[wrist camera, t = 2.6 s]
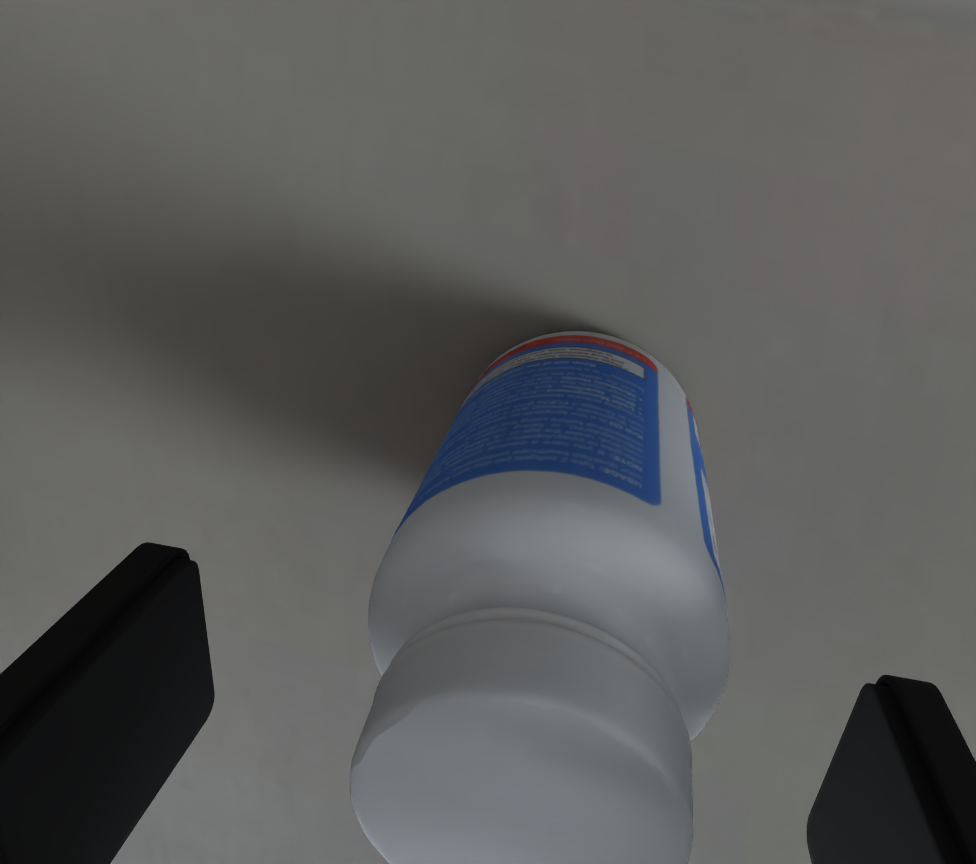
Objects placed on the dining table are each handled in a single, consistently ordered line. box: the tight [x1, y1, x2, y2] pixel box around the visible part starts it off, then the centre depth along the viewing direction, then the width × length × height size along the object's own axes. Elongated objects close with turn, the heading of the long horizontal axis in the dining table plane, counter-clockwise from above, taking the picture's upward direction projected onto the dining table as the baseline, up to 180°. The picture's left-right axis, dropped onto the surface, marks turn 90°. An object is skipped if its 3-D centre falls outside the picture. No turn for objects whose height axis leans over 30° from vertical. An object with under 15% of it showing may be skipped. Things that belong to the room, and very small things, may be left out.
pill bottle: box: [350, 331, 730, 864], centre depth 12 cm, size 6×5×10 cm
